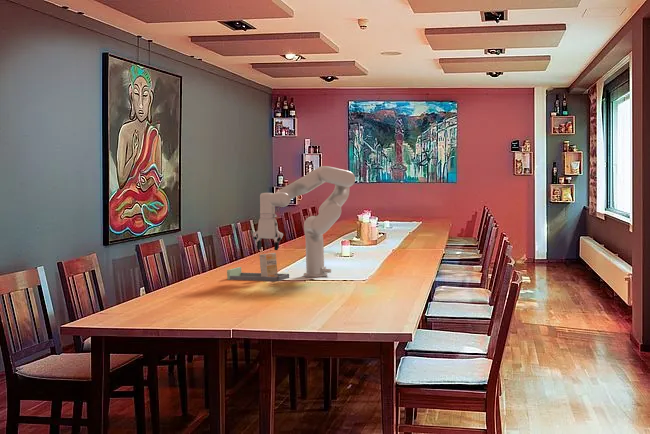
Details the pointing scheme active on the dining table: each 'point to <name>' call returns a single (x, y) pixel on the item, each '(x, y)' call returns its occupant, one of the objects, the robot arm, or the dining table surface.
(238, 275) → the trap channel
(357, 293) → the dining table surface
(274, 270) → the supplement box
